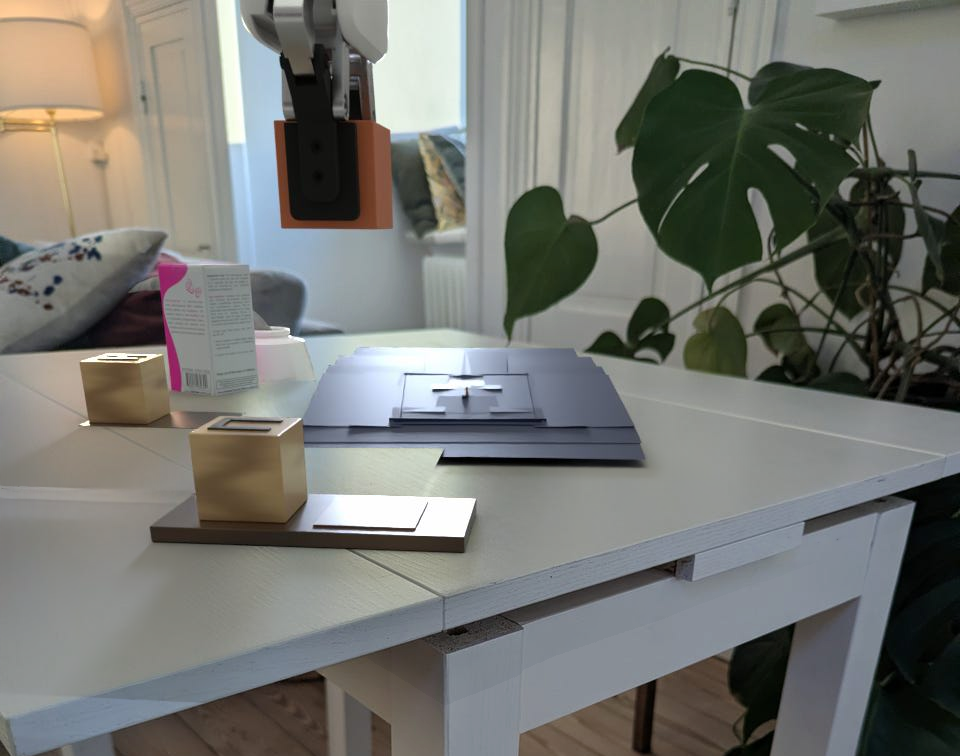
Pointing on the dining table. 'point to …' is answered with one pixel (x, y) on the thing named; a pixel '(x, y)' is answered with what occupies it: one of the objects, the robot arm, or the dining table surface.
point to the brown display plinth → (296, 498)
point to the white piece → (268, 348)
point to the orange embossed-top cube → (371, 180)
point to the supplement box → (209, 327)
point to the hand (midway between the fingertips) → (338, 216)
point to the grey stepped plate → (472, 404)
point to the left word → (134, 394)
